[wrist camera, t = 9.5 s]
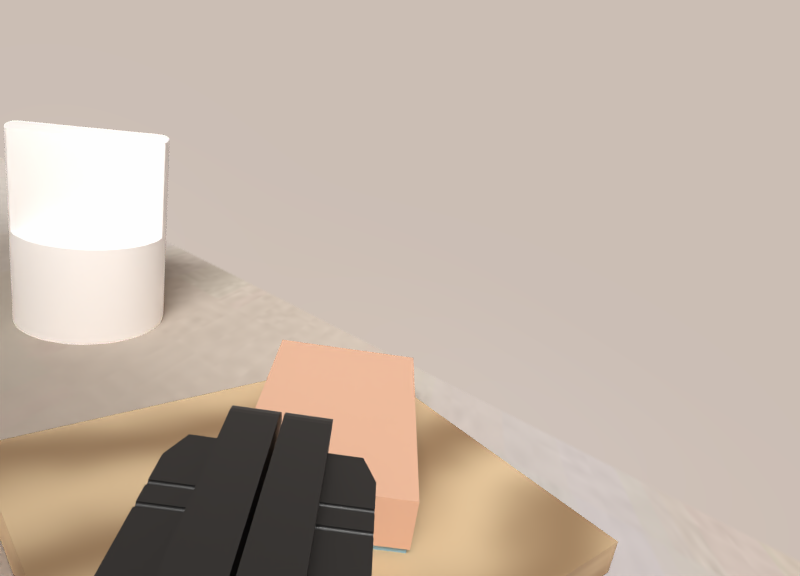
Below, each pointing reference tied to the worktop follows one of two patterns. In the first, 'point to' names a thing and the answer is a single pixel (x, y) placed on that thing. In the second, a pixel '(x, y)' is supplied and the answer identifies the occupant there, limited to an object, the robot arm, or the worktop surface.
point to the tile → (358, 421)
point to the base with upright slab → (86, 231)
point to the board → (204, 415)
